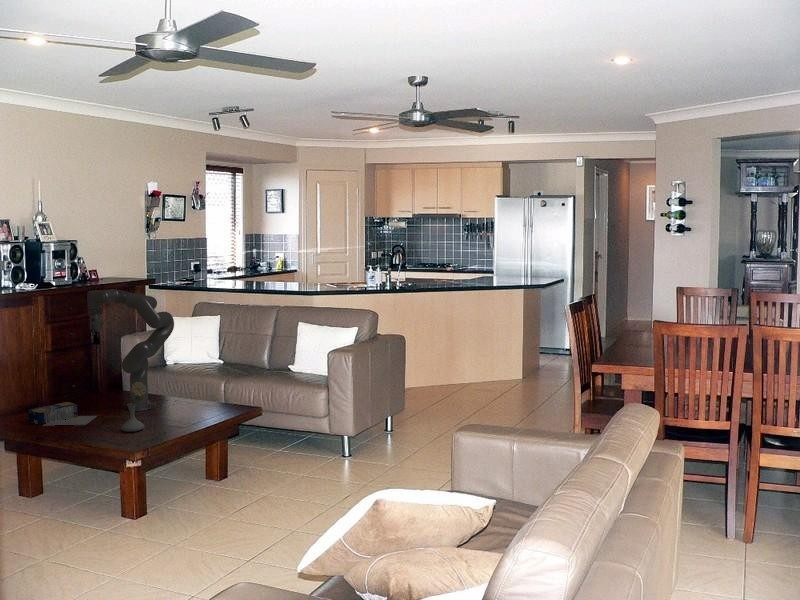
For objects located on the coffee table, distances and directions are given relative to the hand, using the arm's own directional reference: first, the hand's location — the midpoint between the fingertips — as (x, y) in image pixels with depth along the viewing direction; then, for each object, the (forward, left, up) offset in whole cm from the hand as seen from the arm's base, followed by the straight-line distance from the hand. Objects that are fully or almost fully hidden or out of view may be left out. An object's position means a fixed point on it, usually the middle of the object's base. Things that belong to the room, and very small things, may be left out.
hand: (96, 344), depth 477 cm
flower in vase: (-34, +56, -37) cm, 75 cm away
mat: (+6, +32, -37) cm, 49 cm away
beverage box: (+8, +19, -33) cm, 39 cm away
